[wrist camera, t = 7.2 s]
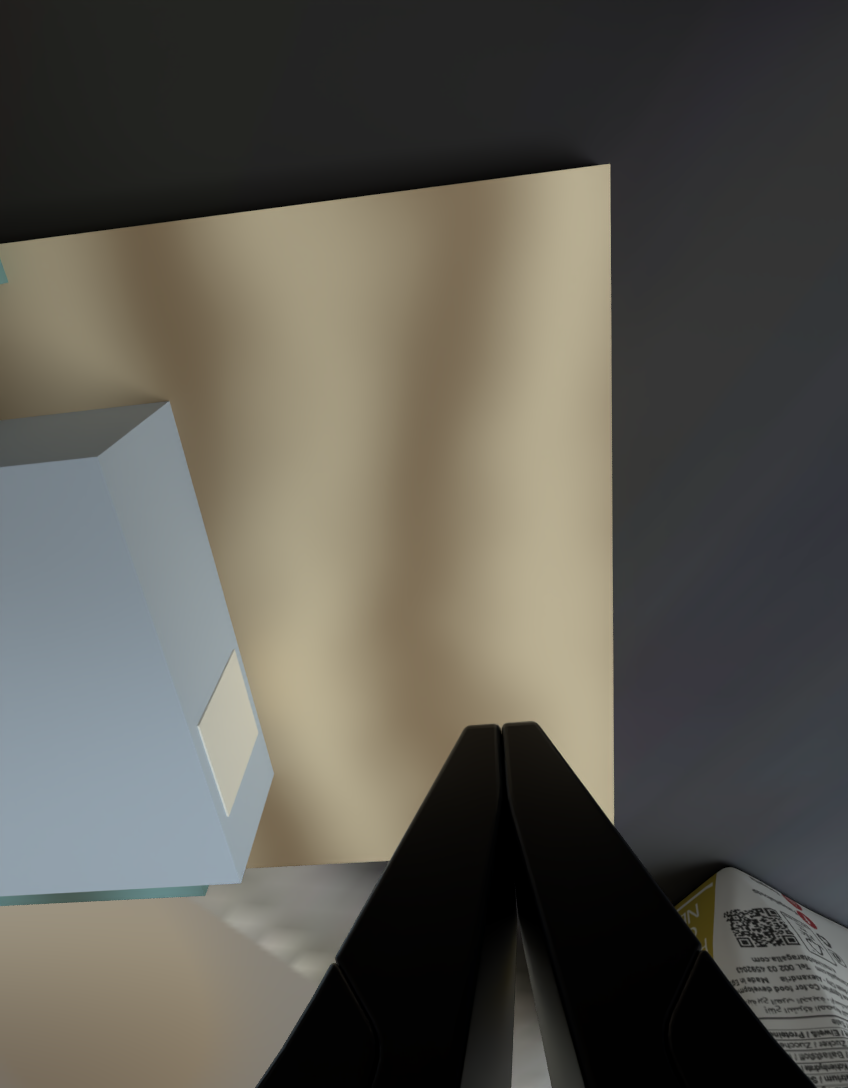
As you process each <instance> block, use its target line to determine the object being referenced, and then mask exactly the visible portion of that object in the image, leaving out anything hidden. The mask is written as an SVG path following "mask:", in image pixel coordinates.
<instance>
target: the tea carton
mask: <svg viewBox="0 0 848 1088" xmlns="http://www.w3.org/2000/svg"><path fill="white" fill-rule="evenodd" d="M273 776H274V772H273V768H272V765H271V761H270V758H269V754H268V750H267V747H266V743H265V740H264V736H263V733H262V729H261V726H260V722H259V718H258V715H257V711H256V708H255V704H254V701H253V697H252V694H251V690H250V686H249V683H248V679H247V676H246V672H245V669H244V665H243V661H242V658H241V654H240V651H239V647H238V644H237V640H236V637H235V633H234V629H233V626H232V622H231V619H230V615H229V612H228V608H227V604H226V601H225V597H224V594H223V590H222V587H221V583H220V580H219V576H218V572H217V569H216V565H215V562H214V558H213V555H212V551H211V547H210V544H209V540H208V537H207V533H206V530H205V526H204V523H203V519H202V515H201V512H200V508H199V505H198V501H197V498H196V494H195V490H194V487H193V483H192V480H191V476H190V473H189V469H188V466H187V462H186V458H185V455H184V451H183V448H182V444H181V441H180V437H179V433H178V430H177V426H176V423H175V419H174V416H173V412H172V409H171V405H170V401H165V402H156V403H147V404H139V405H130V406H121V407H112V408H104V409H95V410H86V411H78V412H69V413H60V414H51V415H43V416H34V417H25V418H16V419H8V420H0V896H17V895H35V894H53V893H72V892H90V891H108V890H127V889H145V888H163V887H182V886H200V885H218V884H236V883H241V881H242V878H243V875H244V871H245V868H246V865H247V862H248V858H249V855H250V852H251V848H252V845H253V842H254V838H255V835H256V832H257V829H258V825H259V822H260V819H261V815H262V812H263V809H264V805H265V802H266V799H267V796H268V792H269V789H270V786H271V782H272V779H273Z"/></svg>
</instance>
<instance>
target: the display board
mask: <svg viewBox="0 0 848 1088" xmlns="http://www.w3.org/2000/svg"><path fill="white" fill-rule="evenodd" d="M165 401H170V405H171V409H172V412H173V416H174V419H175V423H176V426H177V430H178V433H179V437H180V441H181V444H182V448H183V451H184V455H185V458H186V462H187V466H188V469H189V473H190V476H191V480H192V483H193V487H194V490H195V494H196V498H197V501H198V505H199V508H200V512H201V515H202V519H203V523H204V526H205V530H206V533H207V537H208V540H209V544H210V547H211V551H212V555H213V558H214V562H215V565H216V569H217V572H218V576H219V580H220V583H221V587H222V590H223V594H224V597H225V601H226V604H227V608H228V612H229V615H230V619H231V622H232V626H233V629H234V633H235V637H236V640H237V644H238V647H239V651H240V654H241V658H242V661H243V665H244V669H245V672H246V676H247V679H248V683H249V686H250V690H251V694H252V697H253V701H254V704H255V708H256V711H257V715H258V718H259V722H260V726H261V729H262V733H263V736H264V740H265V743H266V747H267V750H268V754H269V758H270V761H271V765H272V768H273V772H274V776H273V779H272V782H271V786H270V789H269V792H268V796H267V799H266V802H265V805H264V809H263V812H262V815H261V819H260V822H259V825H258V829H257V832H256V835H255V838H254V842H253V845H252V848H251V852H250V855H249V858H248V862H247V865H246V868H263V867H282V866H300V865H319V864H338V863H357V862H375V861H390V859H391V857H392V855H393V854H394V852H395V850H396V848H397V846H398V845H399V843H400V841H401V839H402V838H403V836H404V834H405V832H406V830H407V829H408V827H409V825H410V823H411V822H412V820H413V818H414V816H415V814H416V813H417V811H418V809H419V807H420V806H421V804H422V802H423V800H424V798H425V797H426V795H427V793H428V791H429V790H430V788H431V786H432V784H433V782H434V781H435V779H436V777H437V775H438V774H439V772H440V770H441V768H442V766H443V765H444V763H445V761H446V759H447V758H448V756H449V754H450V752H451V750H452V749H453V747H454V745H455V743H456V742H457V740H458V738H459V736H460V734H461V733H462V731H463V730H464V728H465V727H467V726H468V725H478V724H493V723H495V724H498V725H499V726H500V728H501V729H502V726H503V724H505V723H507V722H522V721H534V722H536V723H538V724H539V725H540V727H541V728H542V729H543V731H544V732H545V733H546V735H547V736H548V737H549V739H550V740H551V741H552V743H553V744H554V746H555V747H556V748H557V750H558V751H559V752H560V754H561V755H562V756H563V758H564V759H565V760H566V762H567V763H568V764H569V766H570V767H571V768H572V770H573V771H574V773H575V774H576V775H577V777H578V778H579V779H580V781H581V782H582V783H583V785H584V786H585V787H586V789H587V790H588V791H589V793H590V794H591V795H592V797H593V798H594V799H595V801H596V802H597V804H598V805H599V806H600V808H601V809H602V810H603V812H604V813H605V814H606V816H607V817H608V818H609V820H610V821H611V822H612V824H613V825H614V744H613V570H612V397H611V223H610V164H604V165H596V166H588V167H581V168H573V169H565V170H558V171H550V172H543V173H535V174H528V175H520V176H512V177H505V178H497V179H490V180H482V181H474V182H467V183H459V184H452V185H444V186H436V187H429V188H421V189H414V190H406V191H398V192H391V193H383V194H376V195H368V196H360V197H353V198H345V199H338V200H330V201H322V202H315V203H307V204H300V205H292V206H284V207H277V208H269V209H262V210H254V211H247V212H239V213H231V214H224V215H216V216H209V217H201V218H193V219H186V220H178V221H171V222H163V223H155V224H148V225H140V226H133V227H125V228H117V229H110V230H102V231H95V232H87V233H79V234H72V235H64V236H57V237H49V238H41V239H34V240H26V241H19V242H11V243H4V244H0V420H8V419H16V418H25V417H34V416H43V415H51V414H60V413H69V412H78V411H86V410H95V409H104V408H112V407H121V406H130V405H139V404H147V403H156V402H165ZM501 733H502V732H501ZM208 886H209V885H200V886H182V887H163V888H145V889H127V890H108V891H90V892H72V893H53V894H35V895H17V896H0V906H9V905H29V904H49V903H67V902H87V901H88V902H89V901H109V900H129V899H147V898H148V899H149V898H168V897H188V896H205V895H206V892H207V889H208Z"/></svg>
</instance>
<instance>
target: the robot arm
mask: <svg viewBox="0 0 848 1088" xmlns="http://www.w3.org/2000/svg"><path fill="white" fill-rule="evenodd" d="M501 732H502V733H501ZM515 889H516V892H515ZM516 899H517V908H518V917H519V924H520V930H521V935H522V941H523V946H524V951H525V956H526V961H527V966H528V971H529V976H530V981H531V986H532V991H533V996H534V1001H535V1006H536V1011H537V1016H538V1021H539V1026H540V1031H541V1036H542V1041H543V1046H544V1051H545V1056H546V1061H547V1066H548V1071H549V1076H550V1081H551V1086H552V1088H817V1087H816V1086H815V1084H814V1083H813V1082H812V1081H811V1080H810V1079H809V1078H808V1076H807V1075H806V1074H805V1073H804V1072H803V1071H802V1069H801V1068H800V1067H799V1066H798V1065H797V1064H796V1063H795V1061H794V1060H793V1059H792V1058H791V1057H790V1056H789V1055H788V1053H787V1052H786V1051H785V1050H784V1049H783V1048H782V1047H781V1045H780V1044H779V1043H778V1042H777V1041H776V1040H775V1038H774V1037H773V1036H772V1035H771V1033H770V1032H769V1031H768V1030H767V1028H766V1027H765V1026H764V1025H763V1023H762V1022H761V1021H760V1019H759V1018H758V1017H757V1016H756V1014H755V1013H754V1012H753V1011H752V1009H751V1008H750V1007H749V1005H748V1004H747V1003H746V1002H745V1000H744V999H743V998H742V997H741V995H740V994H739V993H738V991H737V990H736V989H735V988H734V986H733V985H732V984H731V982H730V981H729V980H728V978H727V977H726V976H725V974H724V973H723V972H722V970H721V969H720V968H719V966H718V965H717V963H716V962H715V961H714V959H713V958H712V957H711V955H710V954H709V953H708V952H707V951H706V950H702V945H701V943H700V941H699V940H698V938H697V937H696V936H695V934H694V933H693V932H692V930H691V929H690V928H689V926H688V925H687V924H686V922H685V921H684V920H683V918H682V917H681V916H680V914H679V913H678V911H677V910H676V909H675V907H674V906H673V905H672V903H671V902H670V901H669V899H668V898H667V897H666V895H665V894H664V893H663V891H662V890H661V889H660V887H659V886H658V884H657V883H656V882H655V880H654V879H653V878H652V876H651V875H650V874H649V872H648V871H647V870H646V868H645V867H644V866H643V864H642V863H641V862H640V860H639V859H638V858H637V856H636V855H635V853H634V852H633V851H632V849H631V848H630V847H629V845H628V844H627V843H626V841H625V840H624V839H623V837H622V836H621V835H620V833H619V832H618V831H617V829H616V828H615V826H614V825H613V824H612V822H611V821H610V820H609V818H608V817H607V816H606V814H605V813H604V812H603V810H602V809H601V808H600V806H599V805H598V804H597V802H596V801H595V799H594V798H593V797H592V795H591V794H590V793H589V791H588V790H587V789H586V787H585V786H584V785H583V783H582V782H581V781H580V779H579V778H578V777H577V775H576V774H575V773H574V771H573V770H572V768H571V767H570V766H569V764H568V763H567V762H566V760H565V759H564V758H563V756H562V755H561V754H560V752H559V751H558V750H557V748H556V747H555V746H554V744H553V743H552V741H551V740H550V739H549V737H548V736H547V735H546V733H545V732H544V731H543V729H542V728H541V727H540V725H539V724H538V723H536V722H534V721H522V722H507V723H505V724H503V726H502V729H501V728H500V726H499V725H498V724H495V723H493V724H478V725H468V726H467V727H465V728H464V730H463V731H462V733H461V734H460V736H459V738H458V740H457V742H456V743H455V745H454V747H453V749H452V750H451V752H450V754H449V756H448V758H447V759H446V761H445V763H444V765H443V766H442V768H441V770H440V772H439V774H438V775H437V777H436V779H435V781H434V782H433V784H432V786H431V788H430V790H429V791H428V793H427V795H426V797H425V798H424V800H423V802H422V804H421V806H420V807H419V809H418V811H417V813H416V814H415V816H414V818H413V820H412V822H411V823H410V825H409V827H408V829H407V830H406V832H405V834H404V836H403V838H402V839H401V841H400V843H399V845H398V846H397V848H396V850H395V852H394V854H393V855H392V857H391V859H390V861H389V863H388V864H387V866H386V868H385V870H384V871H383V873H382V875H381V877H380V879H379V880H378V882H377V884H376V886H375V887H374V889H373V891H372V893H371V895H370V896H369V898H368V900H367V902H366V903H365V905H364V907H363V909H362V911H361V912H360V914H359V916H358V918H357V919H356V921H355V923H354V925H353V927H352V928H351V930H350V932H349V934H348V935H347V937H346V939H345V941H344V943H343V944H342V946H341V948H340V950H339V951H338V953H337V955H336V957H335V960H336V963H333V964H331V965H330V967H329V968H328V970H327V972H326V974H325V976H324V977H323V979H322V981H321V983H320V985H319V986H318V988H317V990H316V992H315V994H314V995H313V997H312V999H311V1001H310V1002H309V1004H308V1006H307V1007H306V1009H305V1011H304V1012H303V1014H302V1016H301V1017H300V1019H299V1021H298V1022H297V1024H296V1026H295V1027H294V1029H293V1031H292V1032H291V1034H290V1035H289V1037H288V1039H287V1040H286V1042H285V1044H284V1045H283V1047H282V1049H281V1050H280V1052H279V1053H278V1055H277V1056H276V1058H275V1059H274V1061H273V1062H272V1064H271V1065H270V1067H269V1068H268V1070H267V1071H266V1072H265V1074H264V1075H263V1077H262V1078H261V1080H260V1081H259V1083H258V1084H257V1086H256V1087H255V1088H511V1077H512V1052H513V1027H514V1001H515V976H516V951H517V909H516Z"/></svg>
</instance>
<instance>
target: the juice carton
mask: <svg viewBox="0 0 848 1088" xmlns="http://www.w3.org/2000/svg"><path fill="white" fill-rule="evenodd" d="M675 909H676V910H677V911H678V913H679V914H680V916H681V917H682V918H683V920H684V921H685V922H686V924H687V925H688V926H689V928H690V929H691V930H692V932H693V933H694V934H695V936H696V937H697V938H698V940H699V941H700V943H701V945H702V950H706V951H707V952H708V953H709V954H710V955H711V957H712V958H713V959H714V961H715V962H716V963H717V965H718V966H719V968H720V969H721V970H722V972H723V973H724V974H725V976H726V977H727V978H728V980H729V981H730V982H731V984H732V985H733V986H734V988H735V989H736V990H737V991H738V993H739V994H740V995H741V997H742V998H743V999H744V1000H745V1002H746V1003H747V1004H748V1005H749V1007H750V1008H751V1009H752V1011H753V1012H754V1013H755V1014H756V1016H757V1017H758V1018H759V1019H760V1021H761V1022H762V1023H763V1025H764V1026H765V1027H766V1028H767V1030H768V1031H769V1032H770V1033H771V1035H772V1036H773V1037H774V1038H775V1040H776V1041H777V1042H778V1043H779V1044H780V1045H781V1047H782V1048H783V1049H784V1050H785V1051H786V1052H787V1053H788V1055H789V1056H790V1057H791V1058H792V1059H793V1060H794V1061H795V1063H796V1064H797V1065H798V1066H799V1067H800V1068H801V1069H802V1071H803V1072H804V1073H805V1074H806V1075H807V1076H808V1078H809V1079H810V1080H811V1081H812V1082H813V1083H814V1084H815V1086H816V1087H817V1088H848V929H847V928H845V927H843V926H841V925H839V924H837V923H835V922H833V921H831V920H829V919H827V918H825V917H823V916H821V915H819V914H817V913H815V912H813V911H811V910H809V909H807V908H805V907H803V906H801V905H800V904H798V903H796V902H795V901H793V900H791V899H790V898H788V897H786V896H785V895H783V894H781V893H780V892H778V891H777V890H775V889H773V888H771V887H770V886H768V885H766V884H764V883H763V882H761V881H759V880H757V879H756V878H754V877H752V876H750V875H748V874H746V873H744V872H742V871H740V870H738V869H736V868H733V867H727V868H723V869H722V870H720V871H719V872H717V873H716V874H714V875H713V876H712V877H711V878H709V879H708V880H707V881H705V882H704V883H703V884H702V885H701V886H699V887H698V888H697V889H696V890H694V891H693V892H692V893H691V894H689V895H688V896H687V897H686V898H684V899H683V900H682V901H681V902H679V903H678V904H677V905H676V906H675Z"/></svg>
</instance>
